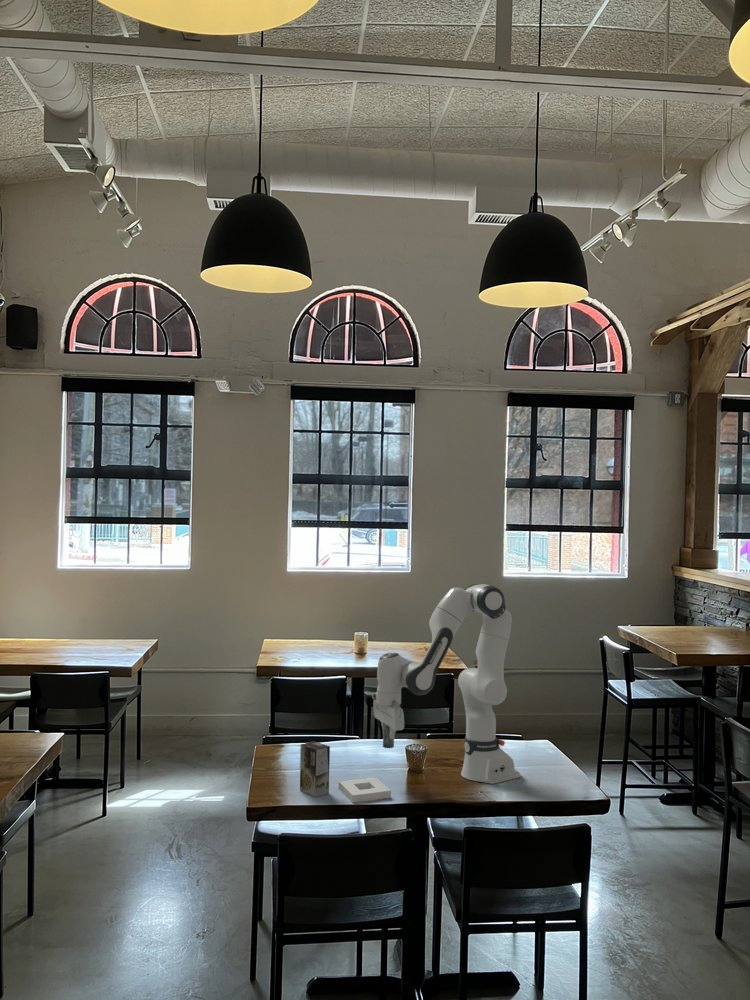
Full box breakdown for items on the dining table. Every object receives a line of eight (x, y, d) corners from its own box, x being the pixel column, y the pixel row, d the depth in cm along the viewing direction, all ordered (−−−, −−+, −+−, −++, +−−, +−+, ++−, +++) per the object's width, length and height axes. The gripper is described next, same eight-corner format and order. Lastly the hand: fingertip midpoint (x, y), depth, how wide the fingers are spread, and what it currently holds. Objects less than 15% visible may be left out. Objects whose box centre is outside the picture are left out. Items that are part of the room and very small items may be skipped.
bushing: (391, 744, 275) (391, 722, 275) (395, 747, 271) (395, 725, 271) (381, 745, 273) (381, 723, 273) (385, 748, 269) (385, 726, 270)
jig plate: (375, 784, 269) (375, 777, 269) (390, 797, 256) (390, 790, 256) (338, 788, 263) (338, 781, 263) (352, 802, 250) (352, 795, 251)
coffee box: (329, 793, 259) (330, 746, 259) (315, 797, 254) (316, 749, 255) (313, 786, 266) (314, 740, 266) (298, 790, 261) (300, 743, 262)
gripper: (408, 704, 264) (408, 743, 264) (386, 691, 283) (385, 728, 283) (392, 705, 262) (392, 745, 261) (370, 692, 281) (370, 730, 280)
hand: (388, 736), depth 272 cm, fingers closed on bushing, 4 cm apart
